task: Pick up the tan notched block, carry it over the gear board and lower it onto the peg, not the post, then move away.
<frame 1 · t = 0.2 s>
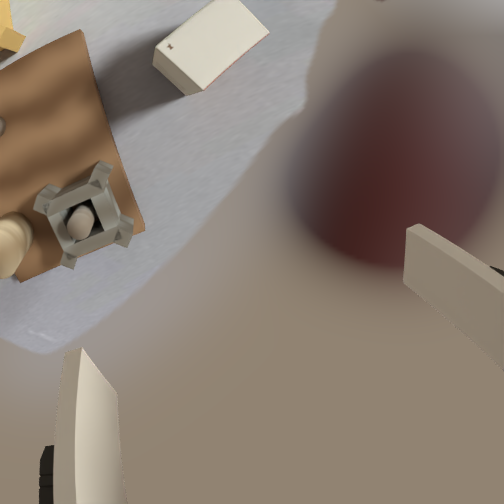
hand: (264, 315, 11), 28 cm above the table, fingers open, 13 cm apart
gear board: (40, 160, 29), on the table
small box: (194, 56, 30), on the table
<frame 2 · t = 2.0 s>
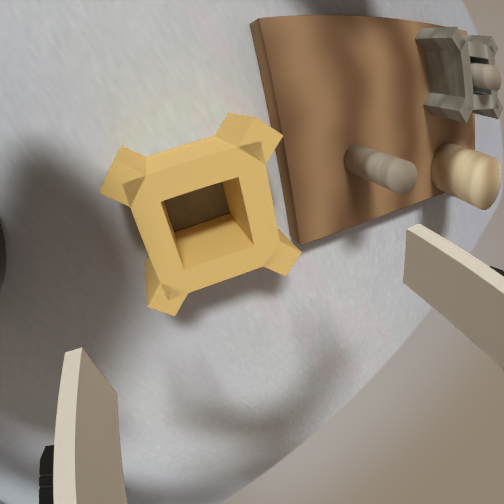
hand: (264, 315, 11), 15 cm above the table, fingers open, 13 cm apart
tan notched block: (194, 196, 24), on the table
gear board: (390, 112, 26), on the table
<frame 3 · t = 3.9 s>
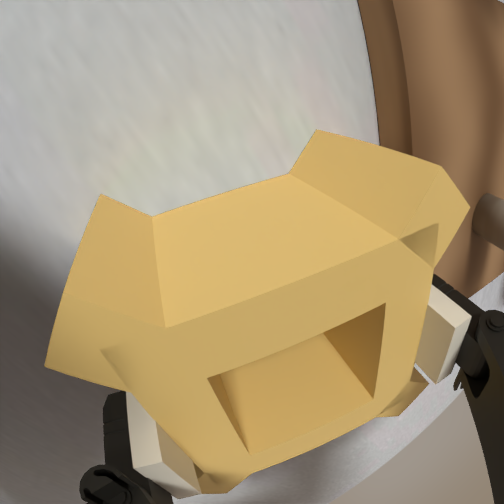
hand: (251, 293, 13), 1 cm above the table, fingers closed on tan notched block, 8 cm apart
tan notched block: (245, 283, 13), on the table, touching gripper
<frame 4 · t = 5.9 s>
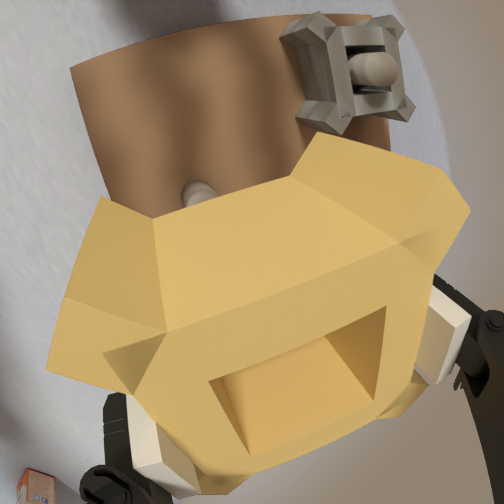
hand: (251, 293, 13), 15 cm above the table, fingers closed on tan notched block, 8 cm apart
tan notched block: (246, 285, 13), point 14 cm above the table, touching gripper
cracker box: (33, 481, 36), on the table
gear board: (255, 131, 24), on the table
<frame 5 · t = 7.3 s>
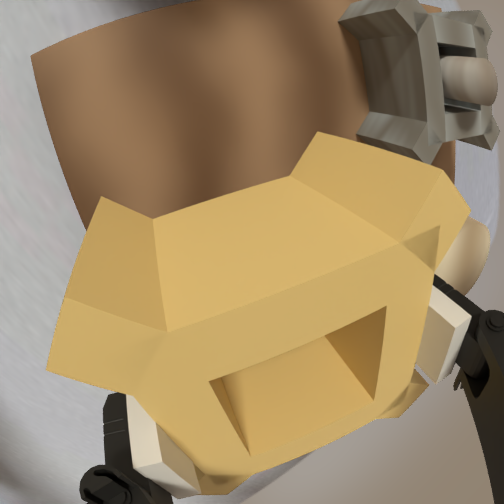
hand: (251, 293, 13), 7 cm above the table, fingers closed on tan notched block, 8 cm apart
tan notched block: (246, 285, 13), point 6 cm above the table, touching gripper
gear board: (299, 151, 18), on the table
when the fingers open (4 cm above the table, at t = 8.2 s): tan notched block drops 1 cm, resting on gear board.
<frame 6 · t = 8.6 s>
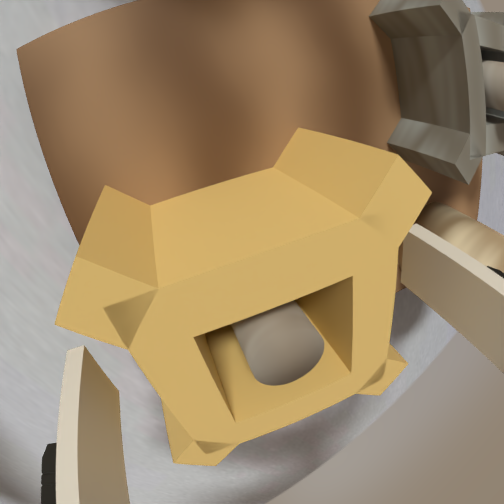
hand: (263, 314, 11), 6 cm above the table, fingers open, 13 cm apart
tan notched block: (235, 268, 14), point 2 cm above the table, touching gear board
gear board: (323, 160, 16), on the table
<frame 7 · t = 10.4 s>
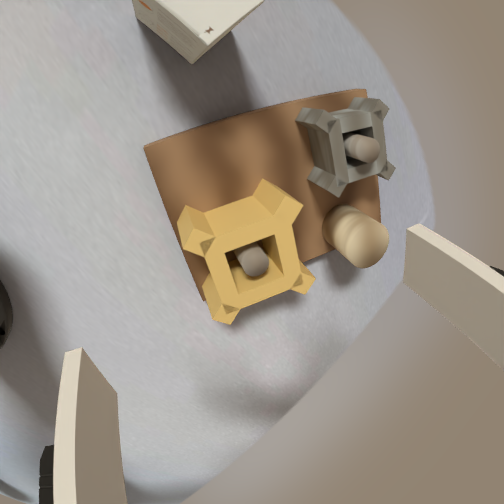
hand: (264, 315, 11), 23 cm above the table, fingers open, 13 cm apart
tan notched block: (238, 238, 34), point 2 cm above the table, touching gear board
gear board: (278, 188, 35), on the table
small box: (183, 22, 24), on the table
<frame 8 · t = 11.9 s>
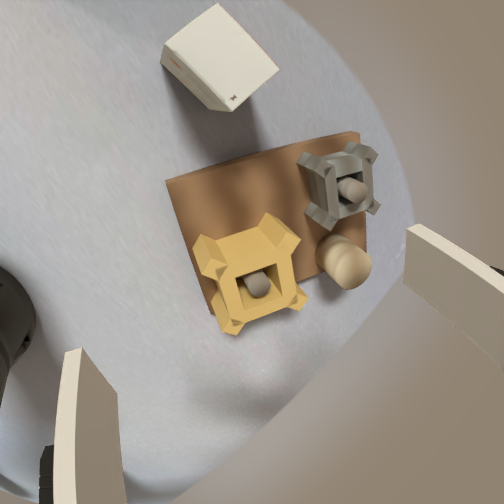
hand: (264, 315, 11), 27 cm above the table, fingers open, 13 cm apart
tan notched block: (243, 261, 40), point 2 cm above the table, touching gear board
gear board: (278, 218, 41), on the table
small box: (202, 69, 30), on the table
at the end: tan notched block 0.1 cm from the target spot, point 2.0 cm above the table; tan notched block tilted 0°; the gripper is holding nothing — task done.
